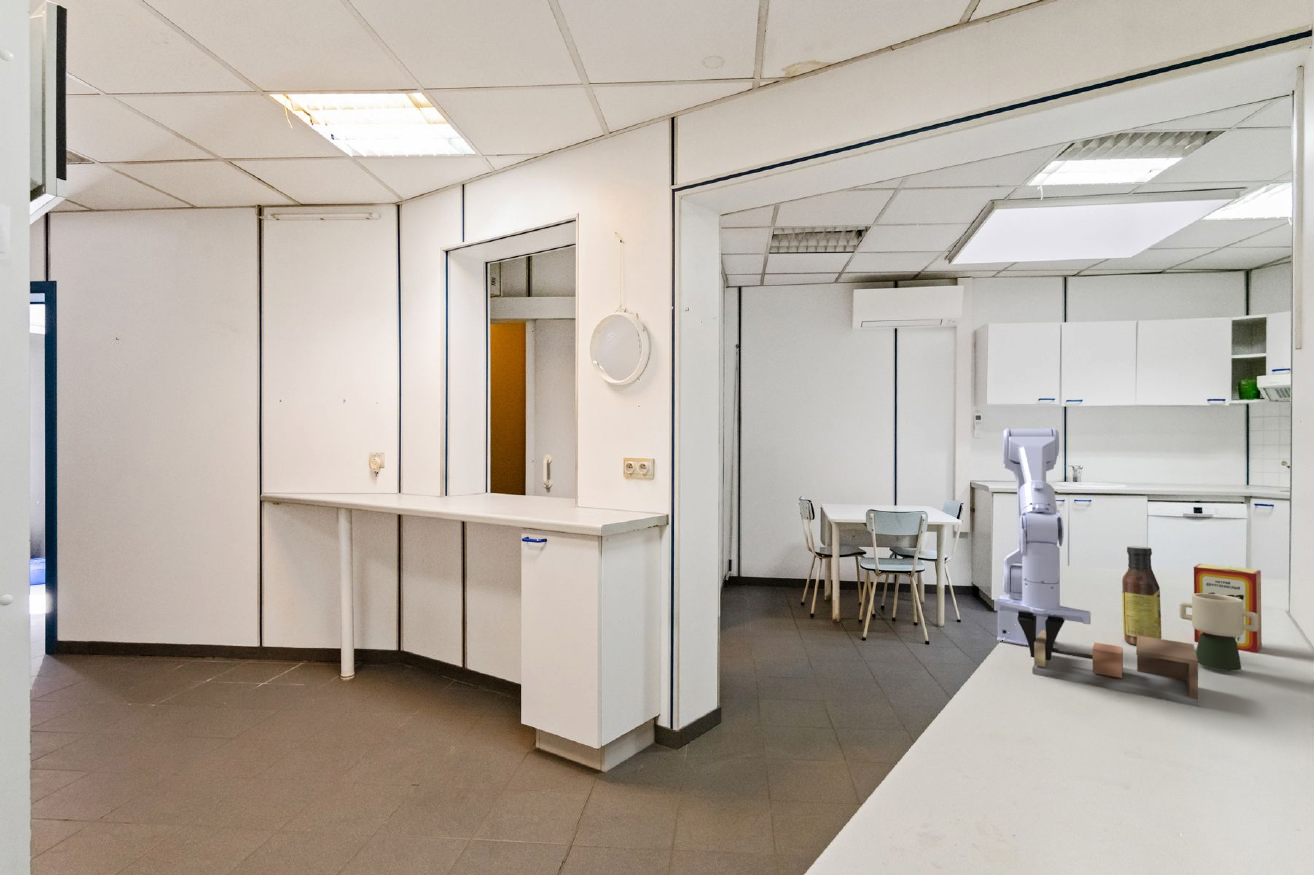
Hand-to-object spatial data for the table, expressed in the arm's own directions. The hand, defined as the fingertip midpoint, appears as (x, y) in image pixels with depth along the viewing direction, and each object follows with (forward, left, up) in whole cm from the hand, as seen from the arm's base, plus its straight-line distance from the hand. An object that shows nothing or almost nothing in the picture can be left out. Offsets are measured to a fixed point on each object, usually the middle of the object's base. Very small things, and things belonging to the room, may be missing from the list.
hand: (1040, 657), depth 110 cm
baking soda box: (+28, +45, -3) cm, 53 cm away
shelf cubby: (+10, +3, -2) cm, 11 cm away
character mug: (+25, +23, -3) cm, 34 cm away
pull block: (+5, +3, -1) cm, 6 cm away
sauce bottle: (+14, +33, -3) cm, 36 cm away
